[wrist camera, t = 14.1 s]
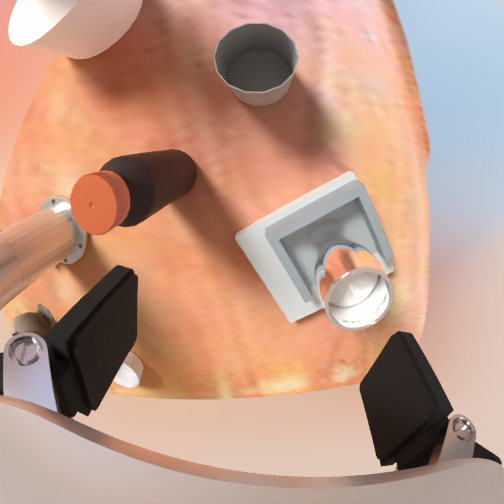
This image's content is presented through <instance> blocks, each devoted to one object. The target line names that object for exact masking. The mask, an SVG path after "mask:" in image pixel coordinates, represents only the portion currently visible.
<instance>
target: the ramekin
mask: <svg viewBox="0 0 504 504" xmlns="http://www.w3.org/2000/svg"><path fill="white" fill-rule="evenodd" d="M143 370H144V366H143V363H142V361H141V360H140V359H139V357H138V356H136V355H135V354H134V353H132V352H131V351H130V352H129V354H128V355H127V357H126V359H125V360H124V362H123V364H122V366H121V367H120V369H119V371H118V373H117V374H116V376H115V378H114V380H113V381H114V382H115V383H117V384H119V385H121V386H123V387H127V388H135V387H137V386H138V385H139V383H140V379H141V376H142V373H143Z"/></svg>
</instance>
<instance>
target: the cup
mask: <svg viewBox="0 0 504 504" xmlns="http://www.w3.org/2000/svg"><path fill="white" fill-rule="evenodd" d="M213 58H214V63H215V68H216V72H217V74H218V75H219V76H220V77H221V79H222V80H223V81H224V82H225V84H226V85H227V86H228V88H229V89H230V90H231V91H232V93H233V94H234V95H235V96H236V97H237V99H238V100H240V101H242V102H244V103H246V104H248V105H251V106H268V105H270V104H273V103H275V102H278V101H279V100H280V99H281V98H282V97H283V96H284V95H285V94H286V93H287V92H288V90H289V87H290V84H291V82H292V79H293V76H294V73H295V69H296V66H297V63H298V59H299V57H298V53H297V49H296V45H295V42H294V41H293V40H292V39H291V38H290V37H289V36H288V35H287V34H286V33H285V31H284V30H282V29H280V28H277V27H275V26H272V25H270V24H267V23H246V24H243V25H240V26H238V27H235V28H233V29H230V30H229V31H228V32H227V33H226V34H225V35H224V36H223V37H222V38H221V39H220V40H219V41H218V43H217V46H216V49H215V53H214V56H213Z"/></svg>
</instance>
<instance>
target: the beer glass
mask: <svg viewBox="0 0 504 504" xmlns="http://www.w3.org/2000/svg"><path fill="white" fill-rule="evenodd" d="M308 250H309V253H310V255H311V256H312V257H313V259H314V260H315V265H314V277H315V284H316V289H317V292H318V295H319V298H320V301H321V303H322V305H323V307H324V310H325V312H326V315H327V318H328V319H329V321H330V322H331V323H332V324H333V325H334V326H336V327H338V328H340V329H342V330H347V331H358V330H363V329H366V328H369V327H371V326H373V325H374V324H376V323H377V322H379V321H380V320H381V319H382V318H383V317H384V316H385V315H386V313H387V312H388V311H389V309H390V307H391V305H392V302H393V297H394V289H393V285H392V282H391V280H390V279H389V277H388V276H387V274H386V272H385V271H384V269H383V267H382V266H381V264H380V263H379V261H378V260H377V259H376V257H375V256H374V255H373V254H372V253H371V252H370V251H369V250H368V249H367V248H365V247H364V246H363V245H361V244H360V243H358V242H356V241H354V240H353V239H352V238H351V235H350V233H349V231H348V230H347V228H346V227H345V226H344V225H342V224H340V223H338V222H334V221H327V222H323V223H321V224H319V225H317V226H316V227H315V228H314V229H313V230H312V231H311V233H310V235H309V238H308Z"/></svg>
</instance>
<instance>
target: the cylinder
mask: <svg viewBox="0 0 504 504" xmlns="http://www.w3.org/2000/svg"><path fill="white" fill-rule="evenodd" d="M142 2H143V0H18V1H17V3H16V6H15V7H14V9H13V12H12V15H11V19H10V22H9V31H8V33H9V37H10V40H11V41H12V43H13V44H14V45H20V46H24V47H29V48H34V49H38V50H43V51H47V52H51V53H55V54H59V55H63V56H66V57H70V58H73V59H87V58H90V57H93V56H96V55H98V54H100V53H101V52H103V51H105V50H107V49H108V48H110V47H111V46H112V45H113V44H114V43H116V42H117V41H118V40H119V39H120V38H121V37H122V36H123V35H124V34H125V33H126V32H127V31H128V30H129V28H130V27H131V25H132V24H133V22H134V21H135V20H136V18H137V16H138V14H139V12H140V9H141V7H142Z"/></svg>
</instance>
